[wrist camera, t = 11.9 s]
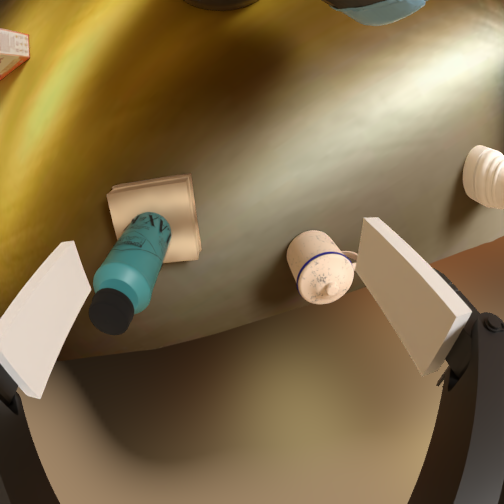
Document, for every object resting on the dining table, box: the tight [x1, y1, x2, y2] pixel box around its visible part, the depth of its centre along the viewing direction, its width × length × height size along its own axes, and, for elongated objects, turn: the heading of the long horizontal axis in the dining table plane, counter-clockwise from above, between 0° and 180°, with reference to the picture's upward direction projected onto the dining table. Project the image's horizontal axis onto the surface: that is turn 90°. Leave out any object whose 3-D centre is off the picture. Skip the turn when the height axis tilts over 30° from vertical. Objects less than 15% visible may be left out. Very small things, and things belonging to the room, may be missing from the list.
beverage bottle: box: [89, 212, 172, 335], centre depth 29 cm, size 6×7×20 cm
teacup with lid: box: [287, 230, 358, 304], centre depth 43 cm, size 12×9×12 cm
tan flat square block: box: [107, 173, 202, 263], centre depth 40 cm, size 13×13×4 cm
